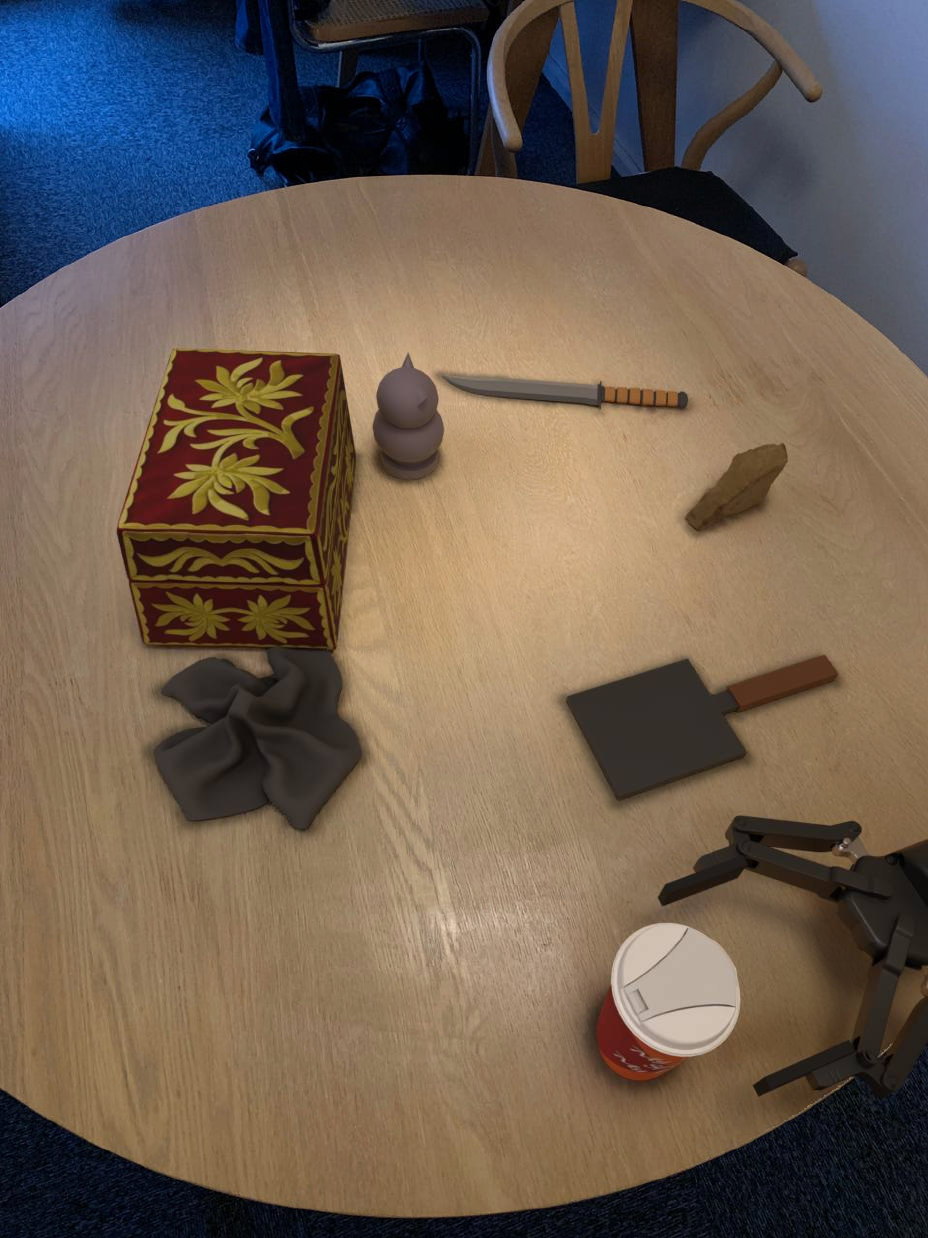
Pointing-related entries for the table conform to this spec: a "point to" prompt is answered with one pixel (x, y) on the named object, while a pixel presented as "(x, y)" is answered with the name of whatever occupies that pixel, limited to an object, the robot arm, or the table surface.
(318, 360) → the decorative box
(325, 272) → the table surface
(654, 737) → the spatula
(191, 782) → the cloth
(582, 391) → the knife
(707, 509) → the rock
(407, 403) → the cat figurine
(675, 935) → the coffee cup
